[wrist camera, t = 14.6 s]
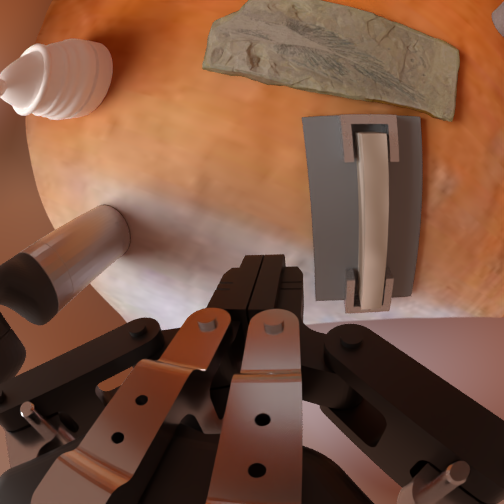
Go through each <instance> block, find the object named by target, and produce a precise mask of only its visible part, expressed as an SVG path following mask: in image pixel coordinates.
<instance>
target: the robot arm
mask: <svg viewBox="0 0 504 504" xmlns="http://www.w3.org/2000/svg"><path fill="white" fill-rule="evenodd" d="M129 244H130V233H129V229H128V226H127V223H126V222H125V220H124V218H123V217H122V215H121V214H120V213H119V212H118V211H117V210H115V209H114V208H112V207H110V206H107V205H100V206H97V207H95V208H94V209H92V210H90V211H88V212H86V213H84V214H82V215H80V216H79V217H77V218H75V219H73V220H71V221H70V222H68V223H66V224H65V225H63V226H61V227H59V228H58V229H56V230H54V231H53V232H51V233H50V234H48V235H46V236H45V237H43V238H41V239H40V240H38V241H37V242H35V243H34V244H32V245H31V246H29V247H28V248H26V249H25V250H23V251H21V252H20V253H18V254H17V255H15V256H14V257H13V258H11V259H10V260H8V261H6V262H5V263H3V264H2V265H0V304H1V305H4V306H7V307H9V308H10V309H12V310H14V311H15V312H17V313H18V314H20V315H21V316H22V317H24V318H25V319H27V320H28V321H29V322H31V323H33V324H36V325H44V324H46V323H47V322H49V321H50V320H51V319H52V318H53V317H54V316H55V315H56V314H57V313H58V312H59V311H60V310H61V309H62V308H63V307H64V306H65V305H67V303H68V302H70V301H71V300H72V299H73V298H74V297H75V296H76V295H77V294H78V293H79V292H80V291H82V289H84V288H85V287H86V286H87V285H88V284H89V283H90V282H92V281H93V280H94V279H95V278H96V277H97V276H98V275H99V274H101V273H102V272H103V271H104V270H105V269H106V268H108V267H109V266H110V265H111V264H112V263H114V262H115V261H116V260H117V259H118V258H119V257H121V256H122V255H123V254H124V253H125V252H126V251H127V250H128V247H129ZM303 311H304V297H303V273H302V272H301V270H300V269H299V268H298V267H285V256H284V254H279V255H265V256H264V255H245V257H244V259H243V261H242V263H241V266H240V268H231V269H230V270H229V271H228V272H226V273H225V274H224V275H223V277H222V279H221V281H220V284H218V286H217V288H216V290H215V292H214V294H213V296H212V298H211V300H210V302H209V304H208V306H207V307H206V308H205V309H201V310H199V311H196V312H194V313H193V314H191V315H190V316H189V317H188V318H187V319H186V321H185V322H184V324H183V325H182V327H181V328H176V329H169V330H162V331H161V328H160V325H159V323H158V322H157V321H156V320H155V319H152V318H139V319H135V320H133V321H130V322H128V323H126V324H124V325H122V326H120V327H118V328H116V329H115V330H112V331H110V332H108V333H106V334H104V335H102V336H100V337H98V338H96V339H93V340H91V341H89V342H87V343H85V344H83V345H81V346H79V347H77V348H75V349H73V350H71V351H69V352H66V353H64V354H62V355H60V356H58V357H56V358H54V359H52V360H50V361H48V362H46V363H43V364H41V365H39V366H37V367H35V368H33V369H31V370H29V371H27V372H24V373H22V374H20V375H18V376H16V374H17V373H18V371H19V370H20V368H21V367H22V365H23V363H24V361H25V357H26V350H25V347H24V346H23V344H22V343H21V341H20V340H19V338H18V337H17V335H16V334H15V333H14V331H13V330H12V329H11V330H10V328H11V327H10V326H9V324H8V323H7V321H6V320H5V318H4V317H3V315H2V314H1V312H0V425H1V426H2V427H3V429H4V430H5V433H6V442H7V449H8V456H9V462H10V467H11V469H9V470H7V471H6V472H4V473H3V474H2V475H1V477H0V504H374V503H373V502H372V501H371V500H370V499H369V498H368V497H367V496H366V495H365V493H363V491H362V490H361V489H360V488H359V487H358V486H357V485H356V484H355V483H354V482H353V481H352V479H351V478H350V477H349V476H348V475H347V474H346V473H345V472H344V471H343V470H342V469H341V468H340V467H339V466H338V465H337V464H336V463H335V462H334V461H332V460H331V459H329V458H328V457H326V456H325V455H323V454H321V453H319V452H317V451H315V450H313V449H310V448H308V447H305V446H302V400H304V401H308V402H311V403H314V404H318V405H320V409H321V410H322V412H323V413H324V414H325V415H326V416H327V417H328V418H329V419H330V420H331V421H332V422H333V423H334V424H335V425H336V426H337V427H338V428H339V429H340V430H341V431H342V432H343V433H344V434H345V435H346V436H347V437H348V438H349V439H350V440H351V441H352V442H353V443H354V444H355V445H356V446H357V447H358V448H359V449H361V450H362V451H363V452H364V453H365V454H366V455H367V456H368V457H369V458H370V459H371V460H372V461H373V462H374V463H375V464H376V465H378V466H379V467H380V468H381V469H382V470H383V471H384V472H385V473H386V474H387V475H389V476H390V477H391V478H392V479H393V480H394V481H395V482H396V483H398V484H399V485H400V486H401V487H402V489H401V491H400V493H399V495H398V498H397V504H498V503H499V502H500V501H502V500H503V499H504V421H503V420H502V419H501V418H499V417H498V416H496V415H495V414H493V413H492V412H490V411H489V410H487V409H486V408H484V407H483V406H482V405H480V404H479V403H477V402H476V401H474V400H473V399H471V398H470V397H468V396H467V395H465V394H464V393H462V392H461V391H460V390H458V389H457V388H455V387H454V386H452V385H450V384H449V383H448V382H446V381H445V380H443V379H442V378H440V377H439V376H437V375H436V374H435V373H433V372H432V371H430V370H429V369H427V368H426V367H424V366H423V365H421V364H420V363H418V362H417V361H416V360H414V359H413V358H411V357H409V356H408V355H407V354H405V353H404V352H402V351H400V350H399V349H398V348H396V347H395V346H393V345H392V344H390V343H389V342H388V341H386V340H385V339H383V338H382V337H380V336H379V335H377V334H376V333H374V332H373V331H371V330H370V329H368V328H366V327H364V326H361V325H357V324H344V325H340V326H337V327H335V328H333V329H331V330H330V331H329V332H328V333H327V334H324V333H319V332H316V331H313V330H311V329H309V328H308V327H307V326H306V325H305V324H304V323H303ZM131 366H132V367H133V370H132V371H131V373H130V374H129V375H128V377H127V378H126V380H125V381H124V382H123V384H122V385H121V386H119V387H117V388H115V389H113V390H111V391H102V390H100V389H99V387H98V386H97V385H98V384H99V383H100V382H102V381H104V380H106V379H108V378H110V377H112V376H114V375H116V374H118V373H120V372H122V371H124V370H126V369H128V368H130V367H131ZM15 376H16V377H15Z"/></svg>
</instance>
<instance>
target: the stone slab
mask: <svg viewBox="0 0 504 504" xmlns="http://www.w3.org/2000/svg"><path fill="white" fill-rule="evenodd" d="M459 63H460V59H459V50H458V49H457V48H455V47H454V46H452V45H450V44H449V43H447V42H445V41H443V40H440V39H437V38H433V37H431V36H428V35H426V34H424V33H422V32H419V31H417V30H414V29H411V28H409V27H407V26H405V25H402V24H400V23H397V22H393V21H390V20H387V19H385V18H383V17H380V16H377V15H375V14H374V13H371V12H367V11H363V10H359V9H356V8H353V7H349V6H344V5H340V4H335V3H330V2H326V1H321V0H248V1H247V2H246V3H245V4H244V5H243V6H242V7H241V9H240V10H239V11H237V12H234V13H231V14H229V15H227V16H225V17H223V18H220V19H218V20H216V21H214V22H213V24H212V27H211V30H210V33H209V35H208V41H207V48H206V52H205V57H204V61H203V69H204V70H208V71H212V72H217V73H222V74H227V75H231V76H243V77H247V78H249V79H251V80H255V81H258V82H261V83H264V84H267V85H278V86H283V85H285V86H288V87H291V88H295V89H299V90H304V91H308V92H315V93H320V94H329V95H334V96H339V97H345V98H350V99H355V100H363V101H369V102H379V103H385V104H390V105H394V106H398V107H402V108H409V109H413V110H416V111H420V112H423V113H426V114H428V115H430V116H431V117H433V118H437V119H442V120H444V121H451V122H452V120H453V117H454V113H455V104H456V91H457V80H458V71H459Z"/></svg>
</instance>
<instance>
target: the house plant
mask: <svg viewBox="0 0 504 504" xmlns="http://www.w3.org/2000/svg"><path fill="white" fill-rule="evenodd" d="M492 20H493V23H494V25H495V27H496V29H497V30H498V32H499V33H500V34H501V35H502V36H503V37H504V2H503V3H502V4H501V5H500V6H499V7H498V8H497V9H496V10H495V11H494V12H493V13H492Z"/></svg>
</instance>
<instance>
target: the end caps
mask: <svg viewBox="0 0 504 504" xmlns="http://www.w3.org/2000/svg"><path fill="white" fill-rule="evenodd" d="M338 124H339V133H340V144H341V155H342V160H343V161H344V162H354V153H353V140H352V130H351V124H382V133H385V134H387V149H388V161H390V162H399V145H398V129H397V118H396V115H381V114H352V115H338ZM393 282H394V277H393V275H392V273H391V270H390V268H389V267H386V270H385V280H384V289H383V298H382V305H381V308H379V309H362V310H361V304H360V299H359V294H358V293H356V294H354V291H355V277H354V273H353V268H345V289H344V304H345V313H363V312H381V311H389V310H390V303H391V296H392V289H393Z"/></svg>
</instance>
